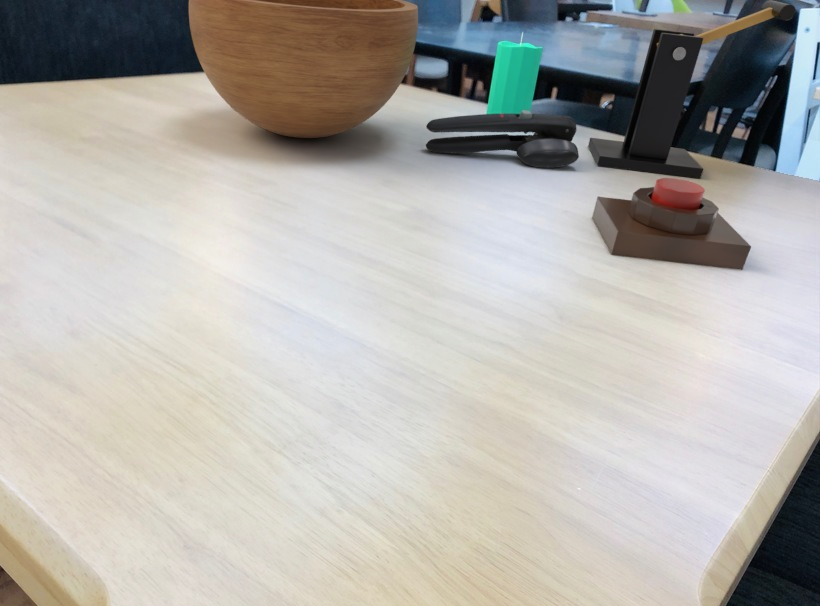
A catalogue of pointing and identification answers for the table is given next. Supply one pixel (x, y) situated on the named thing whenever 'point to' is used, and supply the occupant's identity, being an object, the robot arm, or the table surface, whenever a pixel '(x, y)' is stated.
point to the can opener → (510, 136)
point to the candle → (514, 77)
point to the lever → (751, 20)
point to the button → (678, 193)
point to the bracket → (656, 111)
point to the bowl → (304, 59)
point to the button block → (669, 232)
